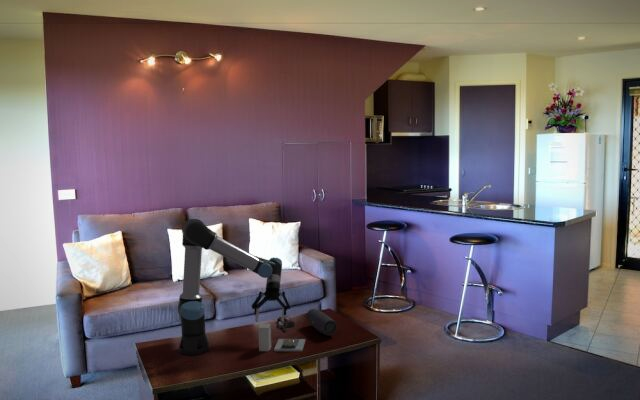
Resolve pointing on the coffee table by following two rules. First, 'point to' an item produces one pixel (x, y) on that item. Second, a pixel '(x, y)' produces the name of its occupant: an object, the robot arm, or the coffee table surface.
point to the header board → (297, 342)
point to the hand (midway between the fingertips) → (269, 320)
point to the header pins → (288, 344)
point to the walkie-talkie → (285, 322)
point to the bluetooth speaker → (321, 322)
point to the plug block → (264, 337)
